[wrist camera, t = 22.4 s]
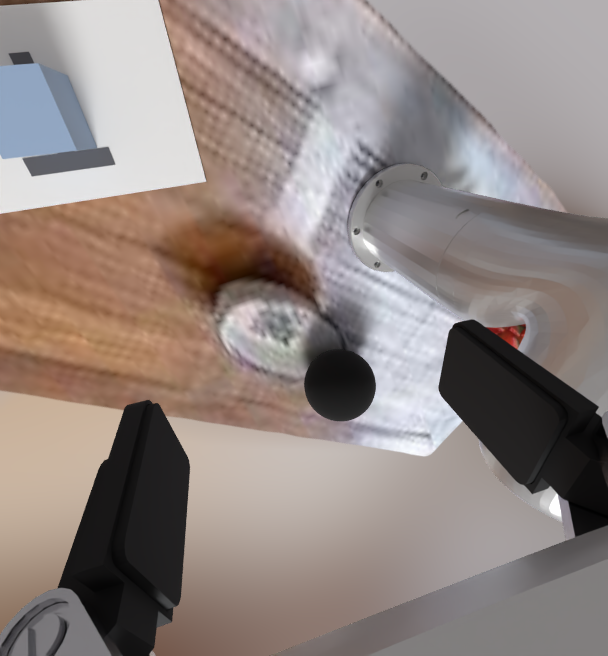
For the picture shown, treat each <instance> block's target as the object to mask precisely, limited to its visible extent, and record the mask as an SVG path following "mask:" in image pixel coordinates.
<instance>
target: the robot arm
mask: <svg viewBox="0 0 608 656" xmlns="http://www.w3.org/2000/svg"><path fill="white" fill-rule="evenodd" d="M377 181H378V183H377V185H376V182H377ZM355 228H356V230H355V231H354V229H355ZM348 237H349V243H350V245H351V248H352V250H353V252H354V254H355V255H356V257H357V258H358V259H359V260H360V261H361V262H362V263H363V264H365V265H366V266H368V267H369V268H371V269H373V270H376V271H381V272H394V271H396V272H397V273H398V274H400V275H401V276H402V277H404V278H405V279H406V280H408V281H409V282H410V283H412V284H413V285H414V286H416V287H417V288H419V289H420V290H421V291H423V292H424V293H425V294H427V295H428V296H429V297H431V298H432V299H433V300H435V301H436V302H437V303H439V304H440V305H441V306H443V307H444V308H446V309H447V310H448V311H450V312H451V313H453V314H454V315H455V316H457V317H458V318H460V319H462V320H463V321H462V322H458V323H455V324H454V325H453V327H452V329H450V331H449V334H448V339H447V345H446V350H445V355H444V361H443V366H442V372H441V377H440V382H439V392H440V394H441V396H442V397H443V399H444V400H445V401H446V402H447V403H448V404H449V405H450V407H451V408H452V409H453V410H454V411H455V412H456V413H457V415H458V416H459V417H460V418H461V419H462V420H463V421H464V423H465V424H466V425H467V426H468V427H469V428H470V429H471V431H472V432H473V433H474V434H475V435H476V436H477V437H478V439H479V445H480V450H481V452H482V455H483V457H484V460H485V461H486V463H487V465H488V467H489V468H490V469H491V471H492V472H493V473H494V475H495V476H496V477H497V478H498V479H499V481H500V482H502V484H503V485H504V486H506V487H507V488H508V489H509V490H510V491H511V492H512V493H514V494H515V495H516V496H518V497H519V498H520V499H521V500H523V501H524V502H526V503H527V504H529V505H530V506H532V507H533V508H535V509H537V510H538V511H540V512H542V513H544V514H546V515H548V516H550V517H551V518H553V519H555V520H558V521H560V522H562V523H563V529H564V534H565V540H566V541H564V542H562V543H559V544H556V545H554V546H551V547H549V548H546V549H543V550H541V551H538V552H535V553H533V554H530V555H527V556H525V557H522V558H520V559H517V560H515V561H512V562H509V563H507V564H504V565H501V566H499V567H496V568H493V569H491V570H488V571H486V572H483V573H481V574H478V575H475V576H473V577H471V578H468V579H465V580H463V581H460V582H457V583H455V584H452V585H450V586H447V587H444V588H442V589H439V590H437V591H434V592H432V593H429V594H426V595H424V596H421V597H419V598H416V599H413V600H411V601H409V602H406V603H403V604H401V605H398V606H395V607H393V608H390V609H388V610H385V611H383V612H380V613H377V614H375V615H372V616H370V617H367V618H365V619H362V620H360V621H357V622H354V623H352V624H349V625H347V626H345V627H342V628H339V629H337V630H334V631H332V632H329V633H327V634H324V635H322V636H319V637H316V638H314V639H311V640H309V641H306V642H304V643H301V644H299V645H296V646H294V647H291V648H288V649H286V650H283V651H281V652H278V653H276V654H273V655H271V656H608V218H598V217H589V216H583V215H576V214H571V213H565V212H559V211H554V210H548V209H543V208H538V207H534V206H529V205H524V204H520V203H514V202H509V201H505V200H500V199H496V198H491V197H487V196H482V195H478V194H473V193H468V192H464V191H459V190H455V189H450V188H446V187H442V184H441V182H440V181H439V179H438V178H437V176H436V175H435V174H434V173H432V172H431V171H430V170H429V169H427V168H425V167H423V166H420V165H415V164H405V163H403V164H397V165H393V166H390V167H388V168H385V169H383V170H382V171H380V172H378V173H377V174H375V175H374V176H373V177H372V178H371V179H370V180H369V181H368V182H366V184H365V185H364V186H363V188H362V189H361V190H360V191H359V193H358V195H357V197H356V198H355V200H354V202H353V205H352V208H351V211H350V214H349V220H348ZM522 324H526V331H525V335H524V337H523V339H522V341H521V343H520V345H519V347H518V349H516V348H515V347H513V346H512V345H510V344H509V343H508V342H506V341H505V340H503V339H502V338H501V337H499V336H498V335H496V334H495V333H493V332H492V331H491V330H489V329H488V328H486V327H491V328H498V327H510V326H517V325H522ZM189 474H190V464H189V459H188V457H187V455H186V453H185V451H184V449H183V448H182V446H181V444H180V442H179V440H178V438H177V437H176V435H175V433H174V431H173V429H172V427H171V425H170V424H169V422H168V420H167V418H166V416H165V414H164V413H163V411H162V409H161V407H160V405H159V404H158V403H155V404H152V402H151V401H150V400H146V401H142V402H138V403H134V404H130V405H127V406H126V407H125V409H124V412H123V415H122V418H121V421H120V424H119V427H118V430H117V433H116V437H115V439H114V443H113V446H112V449H111V452H110V455H109V458H108V459H107V460H105V461H104V462H103V463H102V464H101V466H100V468H99V470H98V473H97V476H96V478H95V481H94V485H93V487H92V490H91V493H90V496H89V499H88V502H87V505H86V508H85V511H84V513H83V516H82V519H81V522H80V525H79V528H78V531H77V534H76V536H75V539H74V542H73V545H72V548H71V551H70V554H69V557H68V560H67V563H66V565H65V568H64V571H63V574H62V577H61V580H60V583H59V586H58V588H57V589H53V590H49V591H47V592H45V593H43V594H41V595H40V596H38V597H36V598H35V599H33V600H32V601H31V602H29V603H28V604H27V605H26V606H24V608H22V609H21V610H20V611H19V612H18V613H17V614H16V615H15V616H14V618H13V619H12V620H11V621H10V622H9V623H8V624H7V626H6V627H5V628H4V630H3V632H2V633H1V634H0V656H155V654H154V653H153V651H152V650H153V648H154V645H155V636H156V628H157V627H160V626H162V625H165V624H168V623H171V622H172V615H173V607H176V606H177V605H178V604H179V602H180V598H181V586H182V573H183V558H184V545H185V531H186V517H187V501H188V489H189Z"/></svg>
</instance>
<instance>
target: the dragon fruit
mask: <svg viewBox="0 0 608 656" xmlns="http://www.w3.org/2000/svg"><path fill="white" fill-rule="evenodd" d="M486 328H488V329H489V330H491V331H492V332H493V333H495V334H496V335H498V336H499V337H501V338H502V339H503V340H505V341H506V342H508V343H509V344H510V345H512V346H513V347H515V348H516V349H518V347H519V345H520V343H521V341H522V339H523V337H524V335H525V331H526V324H522V325H517V326H510V327H498V328H491V327H486Z"/></svg>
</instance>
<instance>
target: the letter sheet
mask: <svg viewBox="0 0 608 656" xmlns="http://www.w3.org/2000/svg"><path fill="white" fill-rule="evenodd" d="M33 63H39V64H41V65H44V66H46V67H49V68H51V69H53V70H56V71H58V72H61V73H63V74H65V75H68V78H69V80H70V82H71V85H72V87H73V90H74V92H75V95H76V97H77V99H78V102H79V104H80V107H81V109H82V112H83V114H84V116H85V119H86V121H87V124H88V126H89V129H90V131H91V133H92V136H93V138H94V141H95V143H96V146H97V148H94V149H86V150H77V151H69V152H61V153H53V154H44V155H36V156H27V157H18V158H9V159H2V157H1V155H0V214H1V213H8V212H14V211H20V210H27V209H33V208H40V207H46V206H53V205H59V204H65V203H72V202H78V201H85V200H91V199H98V198H104V197H110V196H117V195H123V194H130V193H136V192H143V191H149V190H155V189H162V188H168V187H175V186H181V185H187V184H194V183H200V182H206V179H205V175H204V171H203V167H202V163H201V160H200V156H199V152H198V148H197V144H196V141H195V137H194V133H193V129H192V126H191V122H190V118H189V114H188V110H187V107H186V103H185V99H184V95H183V91H182V88H181V84H180V80H179V76H178V73H177V69H176V65H175V61H174V57H173V54H172V50H171V46H170V42H169V38H168V35H167V31H166V27H165V23H164V20H163V16H162V12H161V8H160V4H159V1H158V0H80V1H65V2H50V3H35V4H19V5H4V6H0V66H8V65H21V64H33Z"/></svg>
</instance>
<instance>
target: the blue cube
mask: <svg viewBox="0 0 608 656" xmlns="http://www.w3.org/2000/svg"><path fill="white" fill-rule="evenodd" d="M94 148H97V146H96V143H95V141H94V138H93V136H92V133H91V131H90V129H89V126H88V124H87V121H86V119H85V116H84V114H83V112H82V109H81V107H80V104H79V102H78V99H77V97H76V95H75V92H74V90H73V87H72V85H71V82H70V80H69V78H68V75H65V74H63V73H61V72H58V71H56V70H53V69H51V68H49V67H46V66H44V65H41V64H39V63H33V64H21V65H8V66H0V155H1V157H2V159H9V158H18V157H27V156H36V155H44V154H53V153H61V152H69V151H77V150H86V149H94Z"/></svg>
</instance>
